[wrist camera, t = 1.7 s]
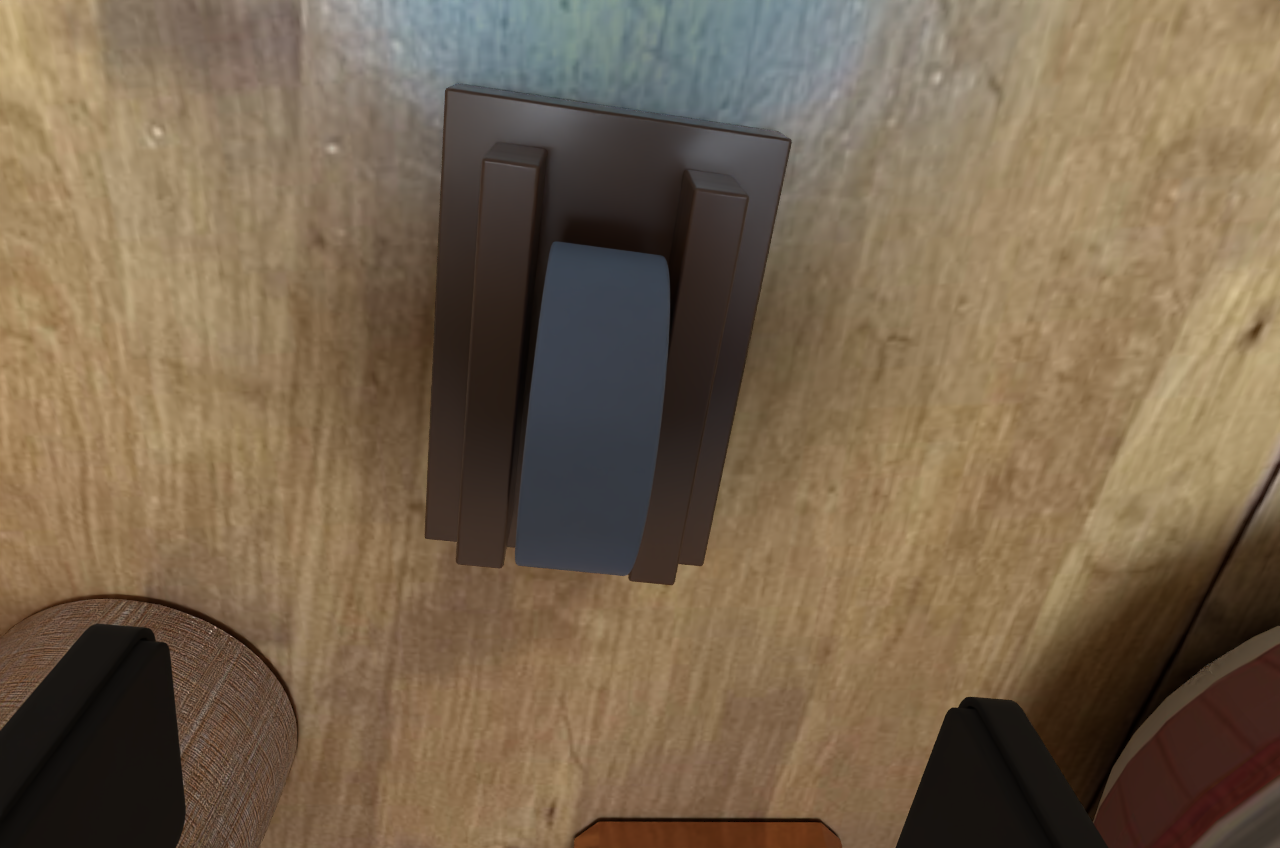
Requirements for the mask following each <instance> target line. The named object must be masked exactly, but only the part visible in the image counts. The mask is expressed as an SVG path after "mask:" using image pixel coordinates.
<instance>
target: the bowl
mask: <svg viewBox="0 0 1280 848" xmlns="http://www.w3.org/2000/svg"><path fill="white" fill-rule="evenodd" d="M1093 824H1094V825H1095V827H1096V828H1097V830H1098V832H1099V833H1100V835H1101V836H1102V838H1103V840H1104V841H1105V843H1106V844H1107V846H1108V848H1280V625H1279V626H1277V627H1275V628H1272V629H1270V630H1268V631H1266V632H1263V633H1261V634H1259V635H1257V636H1254V637H1252V638H1251V639H1249V640H1247V641H1246V642H1244V643H1243V644H1241V645H1239V646H1238V647H1236V648H1234V649H1233V650H1231V651H1229V652H1228V653H1226V654H1224V655H1223V656H1221V657H1219V658H1218V659H1216V660H1215V661H1213V662H1211V663H1210V664H1208V665H1206V666H1205V667H1204V668H1203V669H1201V670H1200V671H1199V672H1198V673H1196V674H1195V675H1194V676H1193V677H1192V678H1190V679H1189V680H1188V681H1187V682H1185V683H1184V684H1183V685H1182V686H1180V687H1179V688H1178V689H1177V690H1175V691H1174V692H1173V693H1172V694H1171V695H1169V696H1168V697H1167V698H1166V699H1165V700H1164V701H1163V702H1162V703H1161V704H1160V705H1159V706H1158V708H1157V709H1156V710H1155V711H1154V712H1153V713H1152V714H1151V715H1150V716H1149V717H1148V719H1147V720H1146V721H1145V722H1144V723H1143V724H1142V725H1141V726H1140V727H1139V728H1138V730H1137V731H1136V732H1135V733H1134V734H1133V736H1132V738H1131V739H1130V741H1129V742H1128V744H1127V746H1126V747H1125V749H1124V750H1123V752H1122V753H1121V755H1120V757H1119V758H1118V760H1117V761H1116V763H1115V764H1114V766H1113V768H1112V770H1111V773H1110V775H1109V778H1108V781H1107V784H1106V786H1105V789H1104V792H1103V794H1102V797H1101V800H1100V802H1099V805H1098V808H1097V811H1096V814H1095V817H1094V820H1093Z"/></svg>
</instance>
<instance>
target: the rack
mask: <svg viewBox="0 0 1280 848" xmlns="http://www.w3.org/2000/svg"><path fill="white" fill-rule="evenodd" d="M791 143H792V142H791V139H789V138H788V137H786V136H785V135H783V134H782V133H780V132H779V131H772V130H765V129H759V128H752V127H745V126H739V125H732V124H725V123H719V122H712V121H705V120H699V119H692V118H685V117H679V116H672V115H665V114H659V113H652V112H645V111H639V110H632V109H625V108H619V107H612V106H605V105H599V104H592V103H585V102H579V101H572V100H565V99H559V98H552V97H545V96H539V95H532V94H525V93H519V92H512V91H505V90H499V89H492V88H485V87H479V86H472V85H465V84H459V83H458V84H455V85H452V86H450V87H448V88H446V90H445V104H444V125H443V147H442V169H441V191H440V212H439V234H438V256H437V277H436V299H435V321H434V343H433V364H432V386H431V408H430V429H429V451H428V473H427V495H426V516H425V538H426V539H434V540H444V541H454V542H457V549H456V563H457V564H461V565H471V566H481V567H491V568H502V567H503V565H504V560H505V555H506V549H507V547H514V548H515V544H516V529H517V516H518V505H519V494H520V483H521V473H522V463H523V454H524V444H525V435H526V425H527V417H528V408H529V399H530V390H531V382H532V373H533V365H534V357H535V349H536V341H537V333H538V326H539V318H540V311H541V303H542V296H543V289H544V283H545V276H546V270H547V264H548V258H549V253H550V248H551V245H552V243H553V242H556V241H557V242H565V243H572V244H580V245H587V246H595V247H602V248H609V249H617V250H624V251H632V252H639V253H647V254H654V255H662V256H663V257H665V259H666V261H667V265H668V269H669V279H670V325H669V344H668V358H667V371H666V382H665V393H664V402H663V412H662V420H661V428H660V437H659V444H658V451H657V459H656V466H655V472H654V478H653V485H652V491H651V496H650V502H649V508H648V513H647V518H646V523H645V527H644V532H643V536H642V540H641V544H640V548H639V552H638V555H637V558H636V561H635V563H634V566H633V568H632V570H631V572H630V573H629V574H628V575H629V580H630V581H635V582H645V583H655V584H666V585H673V584H674V582H675V578H676V572H677V567H678V564H685V565H695V566H702V565H703V563H704V558H705V554H706V549H707V544H708V539H709V534H710V530H711V525H712V520H713V515H714V511H715V506H716V501H717V496H718V491H719V487H720V482H721V477H722V472H723V468H724V463H725V458H726V453H727V448H728V444H729V439H730V434H731V429H732V425H733V420H734V415H735V410H736V406H737V401H738V396H739V391H740V386H741V382H742V377H743V372H744V367H745V363H746V358H747V353H748V348H749V343H750V339H751V334H752V329H753V324H754V320H755V315H756V310H757V305H758V300H759V296H760V291H761V286H762V281H763V277H764V272H765V267H766V262H767V258H768V253H769V248H770V243H771V238H772V234H773V229H774V224H775V219H776V215H777V210H778V205H779V200H780V195H781V191H782V186H783V181H784V176H785V172H786V167H787V162H788V157H789V152H790V148H791Z"/></svg>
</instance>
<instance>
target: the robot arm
mask: <svg viewBox="0 0 1280 848" xmlns="http://www.w3.org/2000/svg"><path fill="white" fill-rule="evenodd" d="M185 816H186V805H185V795H184V785H183V775H182V766H181V756H180V746H179V736H178V726H177V716H176V706H175V697H174V687H173V677H172V667H171V657H170V650H169V646H168V645H167V643H164V642H156V639H155V635H154V633H153V631H152V630H151V629H149V628H145V627H133V626H121V625H109V624H94V625H92V626H90V627H89V628H88V629H87V630H86V631H85V632H84V633H83V634H82V635H81V636H80V637H79V639H78V640H77V641H76V642H75V643H74V644H73V646H72V647H71V648H70V649H69V650H68V651H67V653H66V654H65V655H64V656H63V657H62V658H61V660H60V661H59V662H58V663H57V664H56V666H55V667H54V668H53V669H52V670H51V671H50V673H49V674H48V675H47V676H46V677H45V678H44V680H43V681H42V682H41V683H40V684H39V686H38V687H37V688H36V689H35V690H34V691H33V693H32V694H31V695H30V696H29V697H28V698H27V700H26V701H25V702H24V703H23V704H22V706H21V707H20V708H19V709H18V710H17V711H16V713H15V714H14V715H13V716H12V717H11V718H10V720H9V721H8V722H7V723H6V724H5V725H4V727H3V728H2V729H1V730H0V848H176V846H177V844H178V842H179V840H180V837H181V834H182V831H183V827H184V823H185ZM896 848H1108V846H1107V844H1106V843H1105V841H1104V840H1103V838H1102V836H1101V835H1100V833H1099V832H1098V830H1097V828H1096V827H1095V825H1094V824H1093V822H1092V820H1091V819H1090V817H1089V816H1088V814H1087V812H1086V811H1085V809H1084V808H1083V806H1082V804H1081V803H1080V801H1079V800H1078V798H1077V796H1076V795H1075V793H1074V791H1073V790H1072V788H1071V787H1070V785H1069V783H1068V782H1067V780H1066V779H1065V777H1064V775H1063V774H1062V772H1061V771H1060V769H1059V767H1058V766H1057V764H1056V763H1055V761H1054V759H1053V758H1052V756H1051V755H1050V753H1049V751H1048V750H1047V748H1046V747H1045V745H1044V743H1043V742H1042V740H1041V738H1040V737H1039V735H1038V734H1037V732H1036V730H1035V729H1034V727H1033V726H1032V724H1031V722H1030V721H1029V719H1028V718H1027V716H1026V714H1025V713H1024V711H1023V710H1022V708H1021V707H1020V706H1019V705H1018V704H1017V703H1016V702H1014V701H1012V700H1002V699H990V698H978V697H966V698H965V699H964V700H963V701H962V702H961V703H960V705H959V707H958V708H951V709H950V710H948V712H947V714H946V716H945V718H944V721H943V724H942V726H941V729H940V732H939V734H938V737H937V740H936V742H935V745H934V747H933V750H932V753H931V755H930V758H929V761H928V763H927V766H926V769H925V771H924V774H923V777H922V779H921V782H920V785H919V787H918V790H917V792H916V795H915V798H914V800H913V803H912V806H911V808H910V811H909V814H908V816H907V819H906V822H905V824H904V827H903V830H902V832H901V835H900V838H899V840H898V843H897V845H896Z"/></svg>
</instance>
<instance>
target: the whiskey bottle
mask: <svg viewBox="0 0 1280 848" xmlns="http://www.w3.org/2000/svg"><path fill="white" fill-rule="evenodd" d="M574 848H842V845H841V841H840V839H839V838H838V837H837V836H835V835H834V834H833V833H832V832H831V831H830V830H829V829H828V828H826V827H825V826H824V825H823V824H822V823H821V822H597V823H596V824H595V825H593V826H592V827H590V828H589V829H588V830H586V831H585V832H583V833H582V834H581V835H579V836H578V837H577V838H575V839H574Z"/></svg>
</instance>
